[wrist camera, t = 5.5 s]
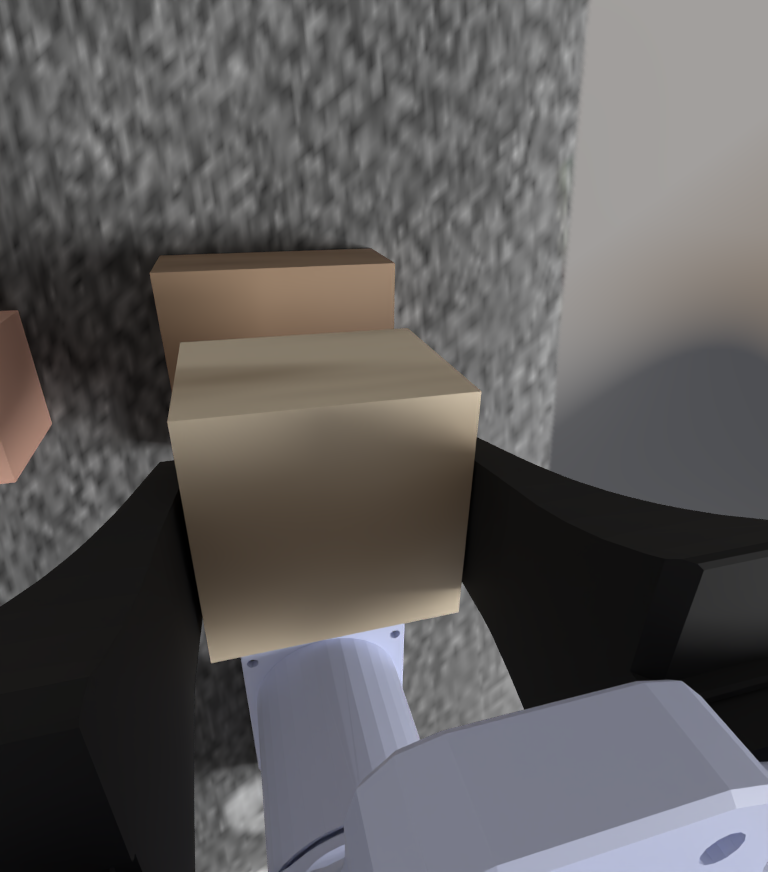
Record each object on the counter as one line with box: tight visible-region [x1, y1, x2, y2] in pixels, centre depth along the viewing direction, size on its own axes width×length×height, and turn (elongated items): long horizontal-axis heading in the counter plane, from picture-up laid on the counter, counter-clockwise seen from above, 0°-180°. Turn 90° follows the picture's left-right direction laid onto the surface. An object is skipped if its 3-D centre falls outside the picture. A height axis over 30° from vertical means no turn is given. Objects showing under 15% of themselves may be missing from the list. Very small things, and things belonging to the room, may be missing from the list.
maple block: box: [167, 328, 481, 663], centre depth 11 cm, size 5×5×4 cm
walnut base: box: [150, 248, 395, 390], centre depth 19 cm, size 7×7×3 cm
